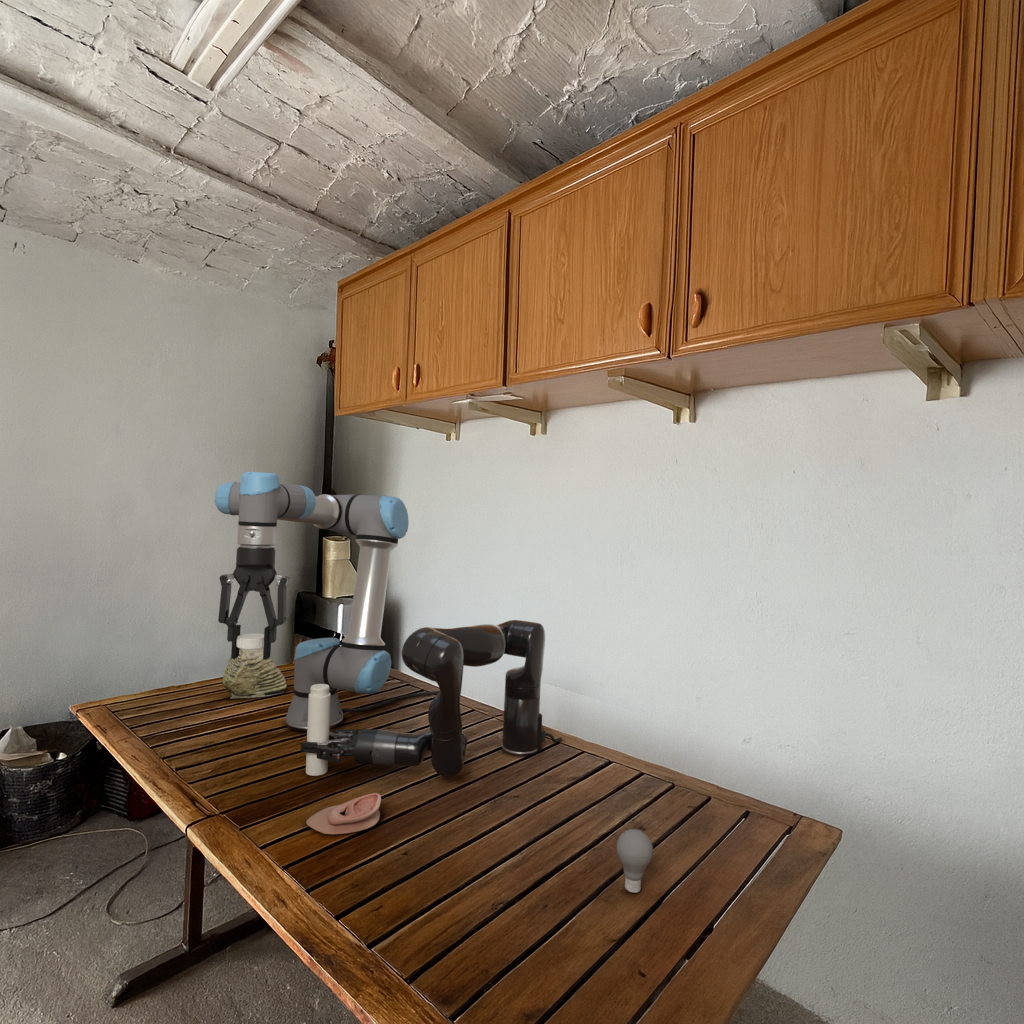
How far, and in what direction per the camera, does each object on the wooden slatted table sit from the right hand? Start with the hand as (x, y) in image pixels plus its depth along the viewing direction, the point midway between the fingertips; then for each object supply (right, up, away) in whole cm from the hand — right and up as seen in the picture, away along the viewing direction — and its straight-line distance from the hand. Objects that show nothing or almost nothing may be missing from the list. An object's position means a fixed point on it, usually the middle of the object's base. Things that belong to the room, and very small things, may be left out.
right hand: (306, 742), depth 146 cm
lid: (-7, +27, -14) cm, 31 cm away
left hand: (-7, +23, -14) cm, 28 cm away
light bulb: (+68, -10, -40) cm, 79 cm away
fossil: (-33, -4, +52) cm, 62 cm away
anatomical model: (+14, -8, -22) cm, 27 cm away
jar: (+2, -7, 0) cm, 7 cm away
